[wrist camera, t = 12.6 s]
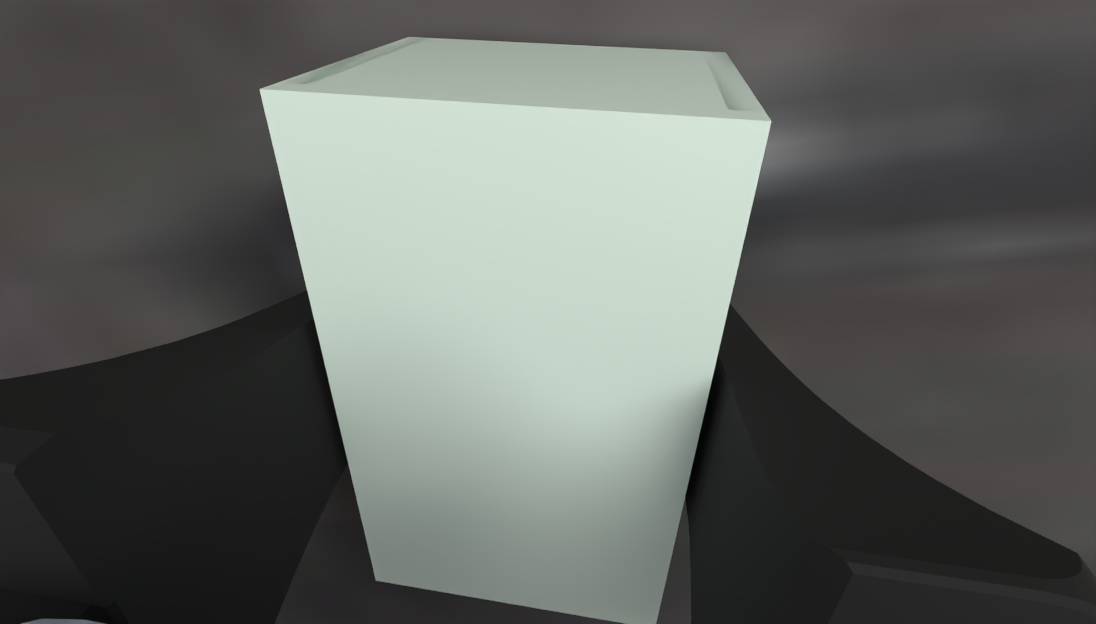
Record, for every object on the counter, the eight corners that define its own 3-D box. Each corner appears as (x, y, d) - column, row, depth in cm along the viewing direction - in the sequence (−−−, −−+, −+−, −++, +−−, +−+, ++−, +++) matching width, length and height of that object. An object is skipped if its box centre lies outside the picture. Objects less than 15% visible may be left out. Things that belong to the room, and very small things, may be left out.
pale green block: (446, 422, 16) (376, 580, 12) (408, 37, 11) (259, 89, 7) (655, 450, 15) (654, 628, 11) (725, 52, 10) (771, 121, 6)
